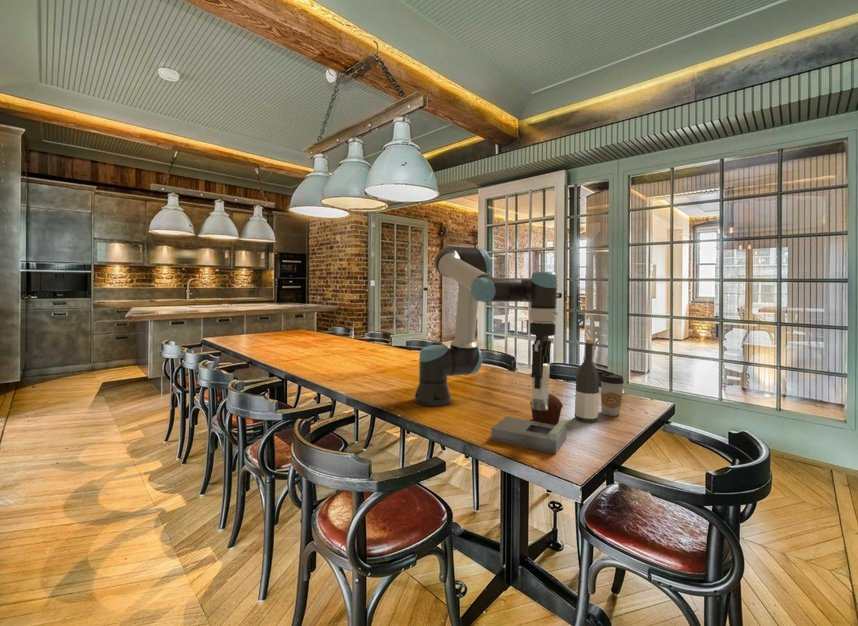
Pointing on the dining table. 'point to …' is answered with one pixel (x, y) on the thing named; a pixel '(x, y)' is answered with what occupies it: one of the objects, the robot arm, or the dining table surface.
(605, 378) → the coffee cup
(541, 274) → the robot arm
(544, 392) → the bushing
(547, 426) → the jig
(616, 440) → the dining table surface
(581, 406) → the wine bottle
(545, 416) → the muffin
